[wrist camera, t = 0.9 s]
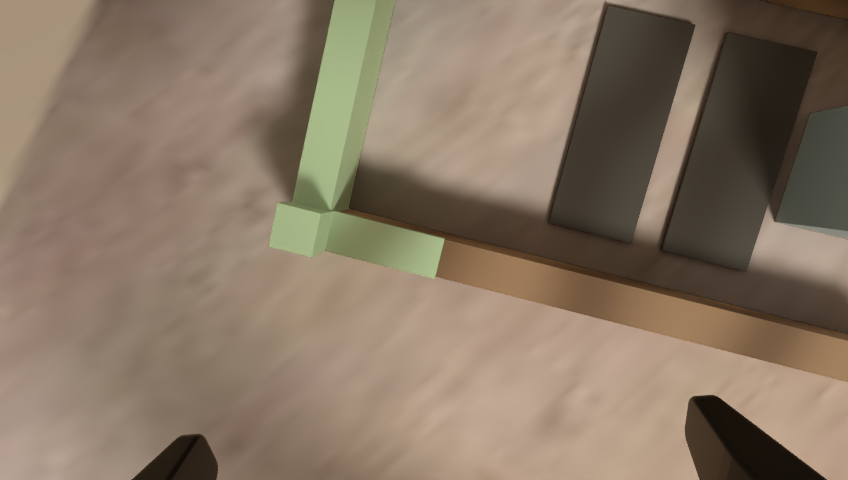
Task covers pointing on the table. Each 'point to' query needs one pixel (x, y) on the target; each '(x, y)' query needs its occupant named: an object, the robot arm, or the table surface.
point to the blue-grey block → (820, 177)
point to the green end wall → (335, 125)
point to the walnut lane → (626, 187)
